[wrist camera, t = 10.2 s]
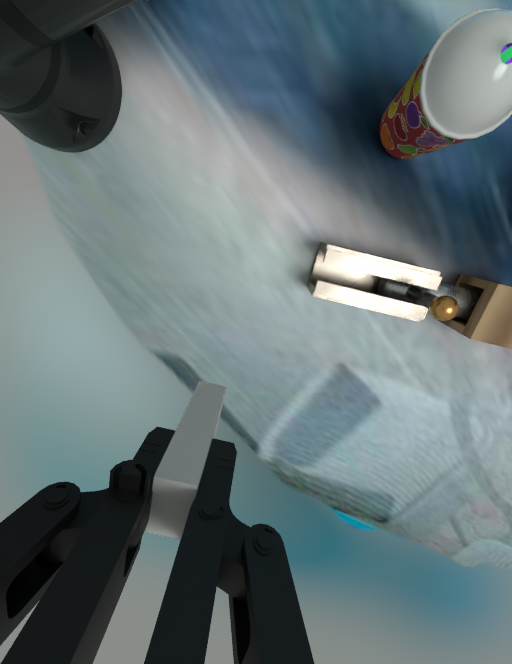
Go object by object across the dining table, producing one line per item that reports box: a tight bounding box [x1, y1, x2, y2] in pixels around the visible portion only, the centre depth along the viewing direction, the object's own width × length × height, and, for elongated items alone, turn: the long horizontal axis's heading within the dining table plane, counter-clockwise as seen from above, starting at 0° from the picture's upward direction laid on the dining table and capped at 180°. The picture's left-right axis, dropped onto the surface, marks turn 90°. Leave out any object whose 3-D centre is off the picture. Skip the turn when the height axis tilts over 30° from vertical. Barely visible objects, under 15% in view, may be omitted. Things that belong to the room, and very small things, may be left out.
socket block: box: [439, 274, 512, 349], centre depth 39 cm, size 6×7×8 cm
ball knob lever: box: [377, 277, 482, 321], centre depth 36 cm, size 16×4×12 cm, turn 77°
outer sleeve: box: [307, 242, 442, 322], centre depth 39 cm, size 14×6×7 cm, turn 77°
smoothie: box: [380, 8, 512, 159], centre depth 27 cm, size 8×8×20 cm
